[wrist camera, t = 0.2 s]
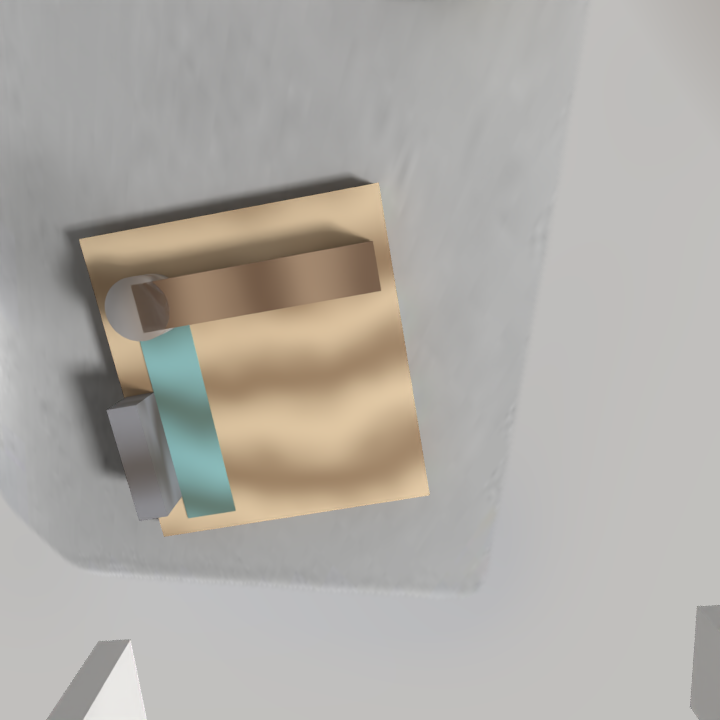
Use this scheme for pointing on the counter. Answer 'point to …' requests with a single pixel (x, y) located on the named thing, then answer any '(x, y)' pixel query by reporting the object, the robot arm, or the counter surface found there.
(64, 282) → the counter surface
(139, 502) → the wooden flat board
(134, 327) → the hinged leg
